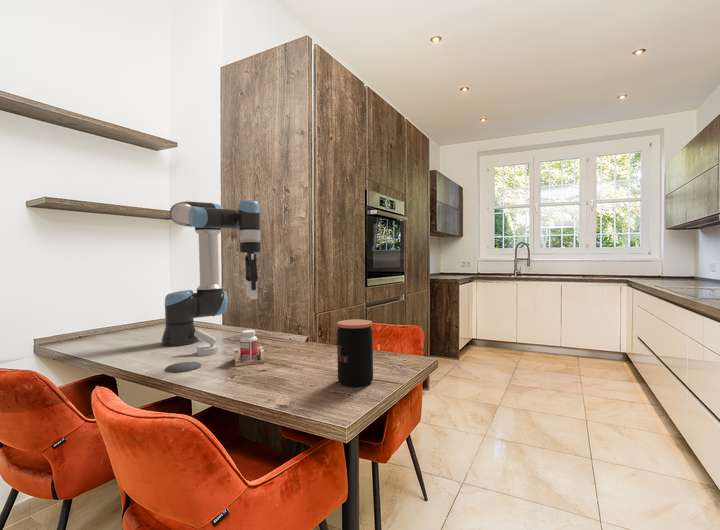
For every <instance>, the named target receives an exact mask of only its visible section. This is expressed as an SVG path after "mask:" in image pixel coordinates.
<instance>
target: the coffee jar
mask: <svg viewBox="0 0 720 530" xmlns="http://www.w3.org/2000/svg"><path fill="white" fill-rule="evenodd" d="M336 326H337V327H338V329H337V330H336V345H337V346H336V352H337V355H336V356H337V379H338V382H339V383H340V385H342V386H345V387H350V388H362V387H365V386H369V385H370V384H372V381H373V380H374V350H373V349H374V347H373V343H374V342H373V334H374V333H373V329H372V326H373V321H372V320H368V319H358V318H357V319H356V318H355V319H345V320H344V319H343V320H340V321H337V322H336Z"/></svg>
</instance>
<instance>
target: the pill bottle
mask: <svg viewBox="0 0 720 530" xmlns="http://www.w3.org/2000/svg"><path fill="white" fill-rule="evenodd" d="M255 335H256V330H255V329H245V330H242V331H241V336H242V337H240V339H239V347H240V349H239V351H240V352H239V356H240V357H241V359H240V362H244V361H253V360H259V357H258V354H259V345H258V337H257V336H255Z"/></svg>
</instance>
